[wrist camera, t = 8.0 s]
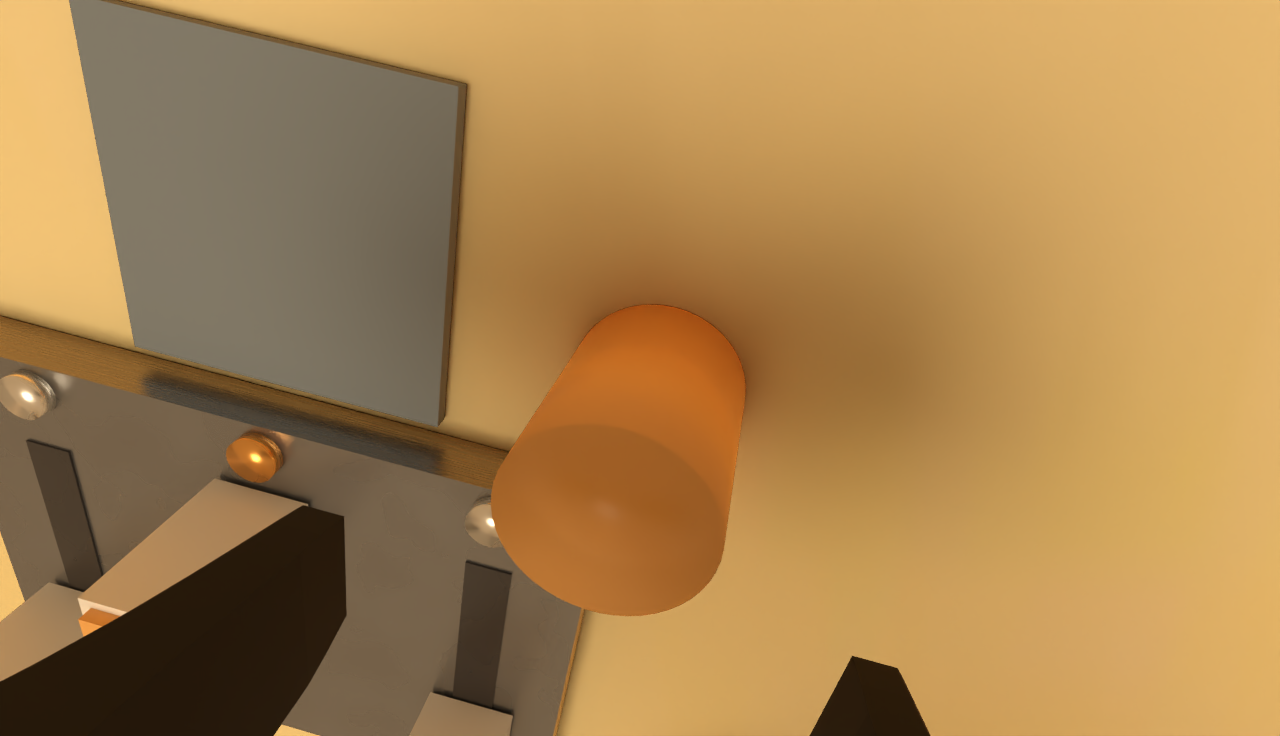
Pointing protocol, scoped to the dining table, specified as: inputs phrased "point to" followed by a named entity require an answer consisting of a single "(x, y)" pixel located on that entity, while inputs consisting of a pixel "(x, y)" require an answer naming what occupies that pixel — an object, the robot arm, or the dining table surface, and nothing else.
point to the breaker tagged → (181, 548)
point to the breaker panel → (298, 470)
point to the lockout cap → (627, 466)
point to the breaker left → (39, 628)
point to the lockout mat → (278, 204)
